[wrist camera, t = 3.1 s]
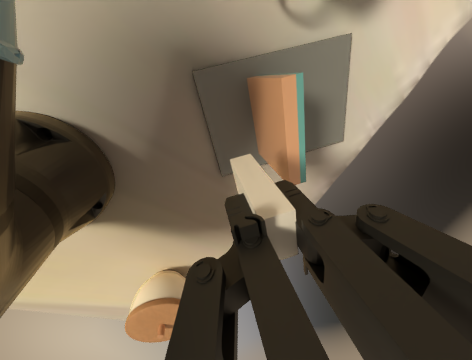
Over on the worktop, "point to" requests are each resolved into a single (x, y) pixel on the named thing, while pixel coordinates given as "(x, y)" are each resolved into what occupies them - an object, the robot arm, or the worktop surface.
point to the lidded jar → (155, 307)
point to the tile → (280, 122)
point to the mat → (283, 61)
